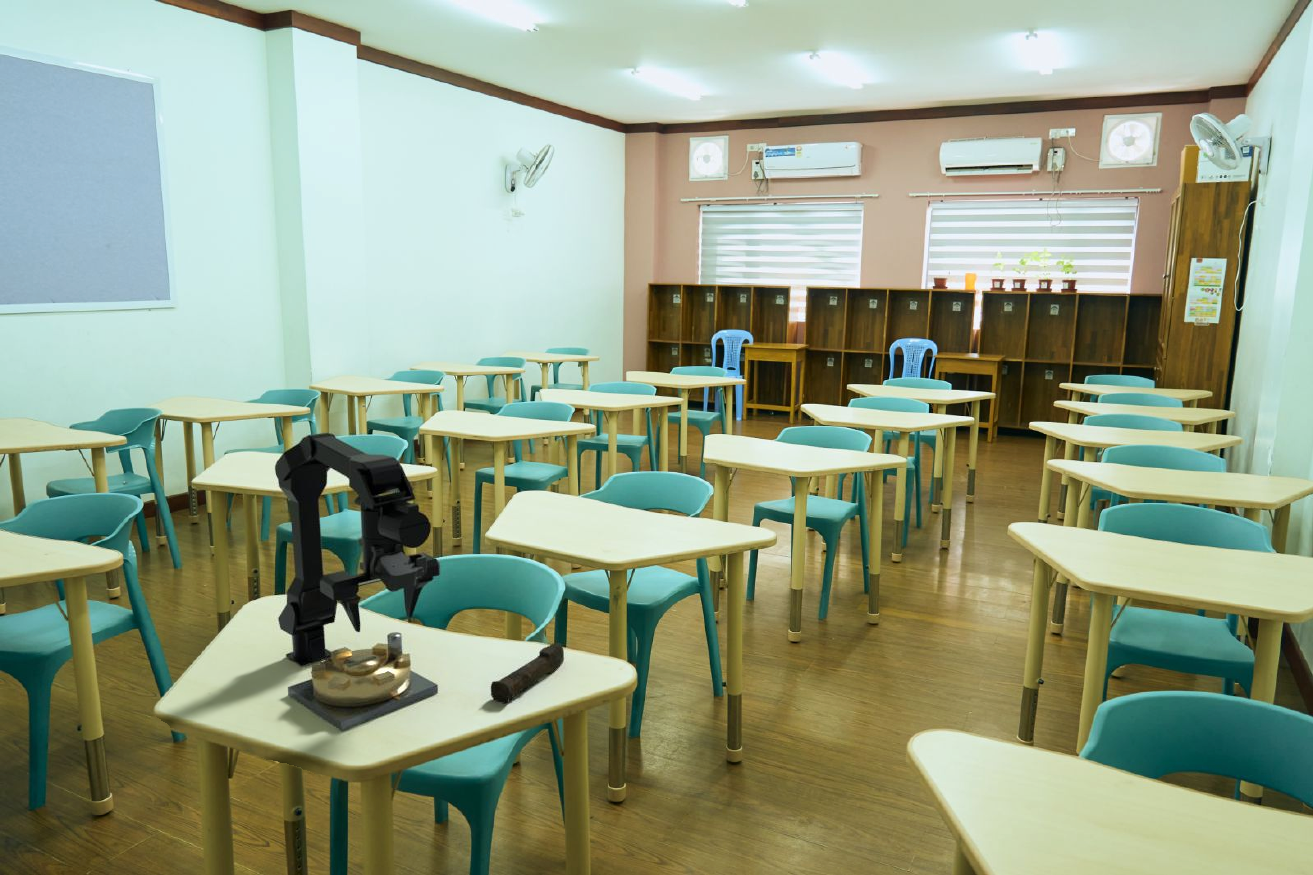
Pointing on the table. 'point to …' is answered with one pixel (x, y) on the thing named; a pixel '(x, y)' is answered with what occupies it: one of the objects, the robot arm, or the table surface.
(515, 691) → the rough bark branch
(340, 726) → the base plate
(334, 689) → the ring nut
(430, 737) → the table surface
